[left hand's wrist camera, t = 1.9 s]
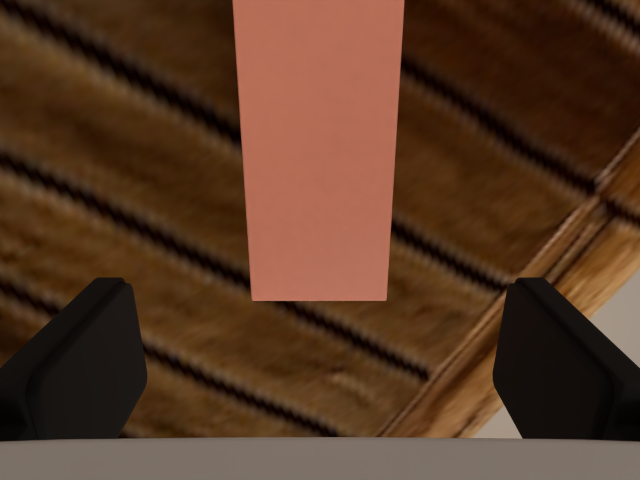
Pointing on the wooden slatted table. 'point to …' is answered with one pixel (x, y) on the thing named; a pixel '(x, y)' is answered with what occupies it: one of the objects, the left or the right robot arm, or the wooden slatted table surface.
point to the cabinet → (318, 144)
